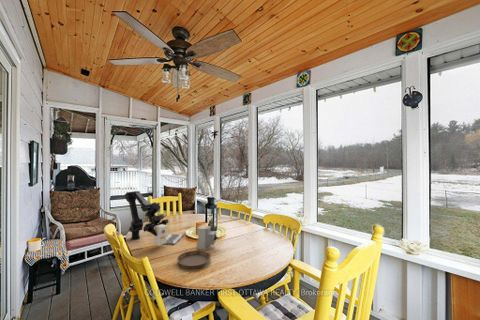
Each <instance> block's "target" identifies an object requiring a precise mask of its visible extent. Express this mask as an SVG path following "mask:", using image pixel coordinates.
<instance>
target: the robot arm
mask: <svg viewBox="0 0 480 320" xmlns="http://www.w3.org/2000/svg"><path fill="white" fill-rule="evenodd" d="M124 197H125V200H126V201H127V203H128V205H129V210H130V215H131V218H132V220H131V223H130V227H129V228H128V231H129V232H130V233H131V237H130V240H140V238H141V236H140V231H142V230H143V232H147V233H150V234H152V235H153V236H154V235H155V236H157V234H156V232H155V230H154V229H155V226H156V225H161V224H163V225H166V226H167V224H168V223H169V219H168V218H167V219H164V218H165V215H164V213H161V214H159V215H157V213H158V212H159V211H160V209H161V205H160V204H159V203H157V202H156V201H154V202H153V203H152V202H150V201H149V200H146V198H145V197H144V196H143V195H142V193H141V191H140V190H134V191H127V192H126V193H125V194H124ZM136 201H137V202H138V203H139V204H140V209H141V210H142V212H143V213H144V212H146V213H145V214H144V216H145V217H147V219H148V223H146V224H145V225H144V221H143V219H142V218H140V217H139V216H140V215H139V211H138V208H137V202H136Z"/></svg>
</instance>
